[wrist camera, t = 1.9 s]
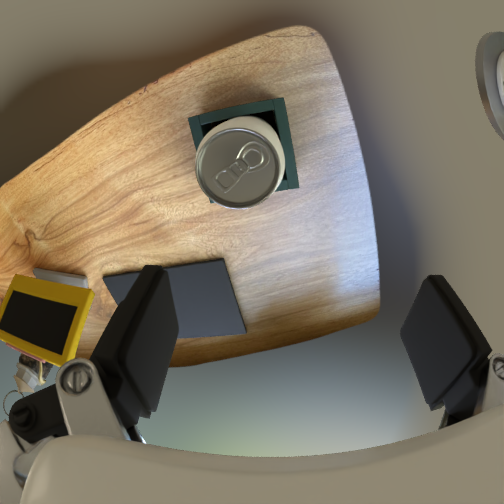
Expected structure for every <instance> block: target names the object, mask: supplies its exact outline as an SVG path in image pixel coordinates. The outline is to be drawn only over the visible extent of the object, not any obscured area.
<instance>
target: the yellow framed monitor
mask: <svg viewBox="0 0 504 504" xmlns="http://www.w3.org/2000/svg"><path fill="white" fill-rule="evenodd" d="M33 273H34V275H35V277H36V278H32V277H28V276H23V275H19V274H15V276H14V278H13V280H12V282H11V284H10V286H9V288H8V290H7V293H6V295H5V297H4V300H3V302H2V304H1V307H0V339H1V340H2V341H4V342H6V345H7V346H9V347H11V348H13V349H15V350H17V351H19V352H21V353H23V354H25V355H27V356H29V357H32V358H34V359H36V360H38V361H40V362H43V363H45V361H47V362H49V363H51V364H54V365H56V366H59V367H61V366H62V365H63V364H64V363H65V362H67V361H69V360H71V359H74V357H75V353H76V350H77V346H78V343H79V340H80V336H81V333H82V330H83V327H84V324H85V321H86V318H87V315H88V312H89V311H90V309H91V304H92V301H93V298H94V296H95V293H94V292H93V291H92V289H89V288H88V282H87V277H86V276H81V275H75V274H68V273H62V272H56V271H50V270H44V269H39V268H34V269H33Z"/></svg>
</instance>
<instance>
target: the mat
mask: <svg viewBox="0 0 504 504" xmlns="http://www.w3.org/2000/svg"><path fill="white" fill-rule="evenodd" d="M163 270H167V271H168V274H169V280H170V285H171V291H172V296H173V301H174V305H175V310H176V315H177V320H178V324H179V333H178V337H177V338H196V337H212V336H225V335H237V334H246V333H247V331H246V328H245V325H244V322H243V319H242V316H241V312H240V309H239V306H238V303H237V300H236V297H235V294H234V290H233V287H232V284H231V281H230V277H229V274H228V271H227V268H226V264H225V261H224V258H222V259H216V260H209V261H203V262H196V263H189V264H183V265H176V266H169V267H163ZM140 272H141V271H136V272H130V273H123V274H116V275H109V276H103V278H102V279H103V281H104V282H105V284H106V286H107V288H108V290H109V291H110V293H111V295H112V297H113V298H114V300H115V302H116V303H117V305H119V304H120V302H121V301H123V300H124V299H125V297H126V296H127V294H128V292H129V290H130V289H131V287H132V285H133V284H134V282H135V280H136V279H137V277H138V275H139V274H140Z"/></svg>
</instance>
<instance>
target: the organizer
mask: <svg viewBox="0 0 504 504" xmlns="http://www.w3.org/2000/svg"><path fill="white" fill-rule="evenodd" d="M270 110H273V114H274V118H275V123H276V129H277V134H278V138H279V140H280V143H281V146H282V148H283V152H284V156H285V170H284V175H283V178H282V180H281V182H280V184H279V186H278V187H277V189H276V190H275V191H274V192H276V191H282V190H288V189H295V188H299V181H298V175H297V169H296V162H295V156H294V150H293V144H292V139H291V133H290V128H289V122H288V117H287V112H286V107H285V102H284V98H276V99H270V100H264V101H258V102H253V103H248V104H243V105H238V106H233V107H229V108H224V109H220V110H216V111H212V112H208V113H204V114H200V115H196V116H193V117H189V118H188V121H189V125H190V129H191V133H192V136H193V140H194V144H195V148H196V152H197V149H198V147H199V145H200V143H201V141H202V140H203V138H204V137H205V136H206V134H207V133H208V132H209V131H211V130H212V129H213V128H212V124H211V123H212V122H216V121H220V120H224V119H229V118H233V117H238V116H243V115H248V114H253V113H258V112H264V111H270ZM209 200H210V203H215V202H214V201H212V200H211V199H210V198H209Z"/></svg>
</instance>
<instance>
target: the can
mask: <svg viewBox="0 0 504 504" xmlns="http://www.w3.org/2000/svg"><path fill="white" fill-rule="evenodd" d="M284 170H285V156H284V152H283V148H282V146H281V143H280V140H279V138H278V136H277V134H276V132H275V130H274V129H273V127H272V126H271V125H270V124H269V123H268V122H266V121H265V120H263V119H262V118H260V117H257V116H252V115H243V116H238V117H235V118H233V119H230V120H228V121H226V122H224V123H221V124H220V125H218V126H216V127H215V128H213V129H212V130H211V131H209V132H208V133H207V134H206V136H205V137H204V138H203V140H202V141H201V143H200V145H199V147H198V149H197V153H196V158H195V171H196V177H197V181H198V183H199V185H200V187H201V189H202V191H203V192H204V193H205V194H206V195H207V196H208V197H209V198H210V199H211V200H212V201H214V202H215V203H217V204H219V205H221V206H223V207H227V208H231V209H246V208H251V207H254V206H256V205H258V204H260V203H262V202H263V201H265V200H266V199H267V198H268V197H269V196H270V195H271V194H272V193H273V192H274V191H275V190H276V189H277V187H278V186H279V184H280V182H281V180H282V178H283V175H284Z"/></svg>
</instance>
